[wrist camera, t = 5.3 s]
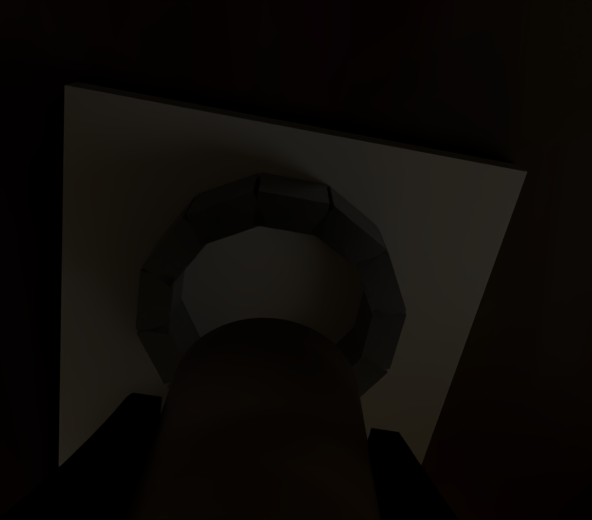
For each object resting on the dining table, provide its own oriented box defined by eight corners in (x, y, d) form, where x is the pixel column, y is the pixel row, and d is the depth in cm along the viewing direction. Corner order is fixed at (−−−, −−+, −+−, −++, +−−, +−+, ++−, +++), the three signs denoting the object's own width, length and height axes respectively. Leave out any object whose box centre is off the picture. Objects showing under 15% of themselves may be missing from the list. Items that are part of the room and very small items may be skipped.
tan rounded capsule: (383, 340, 12) (455, 601, 7) (330, 484, 14) (354, 786, 8) (188, 298, 12) (94, 540, 6) (158, 452, 13) (65, 748, 8)
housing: (515, 163, 18) (555, 190, 15) (369, 579, 25) (378, 646, 23) (77, 81, 17) (34, 93, 14) (66, 540, 24) (37, 606, 22)
